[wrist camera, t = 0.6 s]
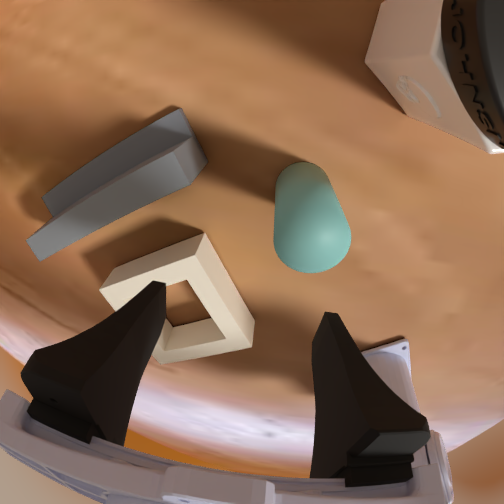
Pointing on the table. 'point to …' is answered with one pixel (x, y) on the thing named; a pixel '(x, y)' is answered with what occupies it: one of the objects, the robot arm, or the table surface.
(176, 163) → the wall
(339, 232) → the dowel
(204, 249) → the block
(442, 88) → the jar
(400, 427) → the robot arm
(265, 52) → the table surface
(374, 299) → the table surface
